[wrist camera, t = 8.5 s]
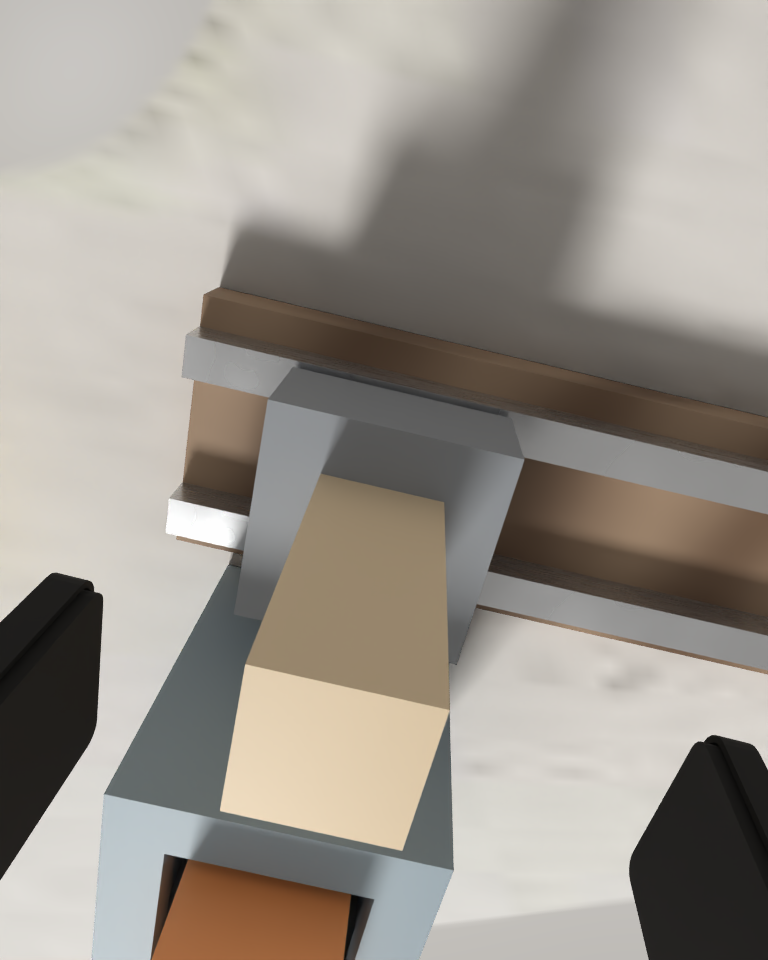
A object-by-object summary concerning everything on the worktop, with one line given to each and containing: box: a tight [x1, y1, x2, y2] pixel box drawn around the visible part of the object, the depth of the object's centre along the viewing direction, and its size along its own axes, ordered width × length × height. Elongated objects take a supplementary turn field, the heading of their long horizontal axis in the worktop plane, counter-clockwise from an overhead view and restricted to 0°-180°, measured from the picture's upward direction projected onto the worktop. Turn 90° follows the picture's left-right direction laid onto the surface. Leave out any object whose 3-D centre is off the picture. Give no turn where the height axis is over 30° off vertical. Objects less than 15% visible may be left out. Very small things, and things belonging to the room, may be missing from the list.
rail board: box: [166, 287, 768, 674], centre depth 21 cm, size 23×8×3 cm, turn 77°
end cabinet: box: [92, 565, 454, 960], centre depth 22 cm, size 8×8×10 cm
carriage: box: [220, 367, 525, 851], centre depth 15 cm, size 6×6×10 cm
